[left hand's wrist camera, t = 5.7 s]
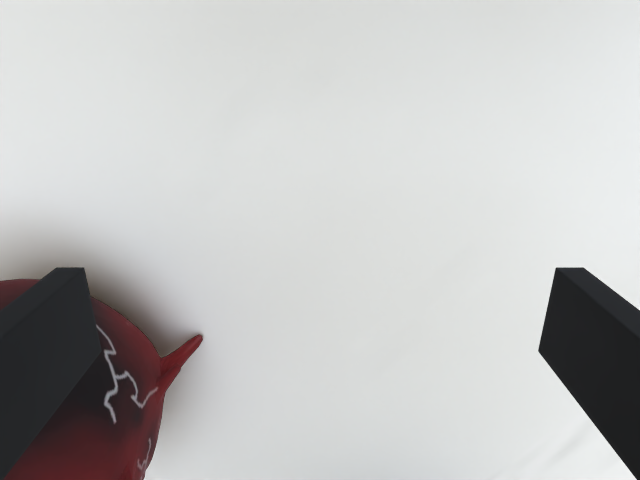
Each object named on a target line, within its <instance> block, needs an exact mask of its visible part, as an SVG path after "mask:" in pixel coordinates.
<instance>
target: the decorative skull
mask: <svg viewBox="0 0 640 480" xmlns="http://www.w3.org/2000/svg"><path fill="white" fill-rule="evenodd" d="M38 281H40V280H35V279H16V280H6V281H0V310H2V309H3V308H4V307H6V306H7V305H8V304H10V303H11V302H12V301H14V300H15V299H16V298H17V297H19V296H20V295H21V294H23V293H24V292H25V291H27V290H28V289H29V288H31V287H32V286H33V285H34V284H36V283H37V282H38ZM90 298H91V303H92V307H93V312H94V317H95V321H96V326H97V331H98V336H99V340H100V345H101V350H102V351H101V353H100V354H99V355H98V357H97V358H96V359H95V360H94V362H93V363H92V364H91V366H90V367H89V368H88V370H87V371H86V372H85V374H84V375H83V376H82V377H81V379H80V380H79V381H78V383H77V384H76V385H75V387H74V388H73V389H72V390H71V392H70V393H69V394H68V396H67V397H66V398H65V400H64V401H63V402H62V403H61V405H60V406H59V407H58V409H57V410H56V411H55V413H54V414H53V415H52V417H51V418H50V419H49V420H48V422H47V423H46V424H45V426H44V427H43V428H42V430H41V431H40V432H39V433H38V435H37V436H36V437H35V439H34V440H33V441H32V443H31V444H30V445H29V446H28V448H27V449H26V450H25V452H24V453H23V454H22V456H21V457H20V458H19V460H18V461H17V462H16V463H15V465H14V466H13V467H12V469H11V470H10V471H9V473H8V474H7V475H6V476H5V478H4V479H3V480H143V479H144V477H145V471H146V469H147V467H148V466H149V464H150V462H151V460H152V457H153V454H154V450H155V447H156V443H157V439H158V433H159V428H160V423H161V418H162V410H163V402H164V396H165V392H166V390H167V389H168V387H169V386H170V384H171V383H172V382H173V380H174V379H175V377H176V376H177V374H178V373H179V372H180V369H181V367H182V365H183V364H184V363H185V362H186V360H187V359H188V358H189V357H190V356H191V354H192V353H193V352H194V351H195V350H196V349H197V348H198V347H199V345H200V344H201V342H202V340H203V338H202V336H201V335H197V336H195V337H194V338H192V339H190V340H189V341H187V342H186V343H185V344H183V345H182V346H181V347H180V348H178V349H177V350H176V351H174V352H172V353H171V354H169V355H167V356H166V357H163V358H161V357H160V356H159V355H158V353H157V351H156V349H155V348H154V346H153V345H152V343H151V342H150V341H149V339H148V338H147V337H146V335H145V334H144V333H142V332H141V331H140V330H139V329H138V328H137V327H136V326H135V325H133V324H132V323H131V322H130V321H129V320H127V319H126V318H125V317H124V316H122V315H121V314H120V313H118V312H117V311H115V310H114V309H112V308H111V307H109V306H107V305H106V304H104V303H102V302H100V301H98V300H97V299H95V298H93V297H91V296H90Z"/></svg>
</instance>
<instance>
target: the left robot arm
mask: <svg viewBox="0 0 640 480" xmlns="http://www.w3.org/2000/svg"><path fill="white" fill-rule="evenodd" d="M101 351H102V350H101V345H100V340H99V336H98V331H97V326H96V321H95V317H94V312H93V307H92V303H91V298H90V293H89V288H88V284H87V279H86V274H85V270H84V268H55V269H54V270H53V271H52V272H50V273H49V274H48V275H46V276H45V277H44V278H42V279H41V280H40V281H38V282H37V283H36V284H34V285H33V286H32V287H31V288H29V289H28V290H27V291H25V292H24V293H23V294H21V295H20V296H19V297H17V298H16V299H15V300H14V301H12V302H11V303H10V304H8V305H7V306H6V307H4V308H3V309H2V310H0V480H3V479H4V478H5V476H6V475H7V474H8V473H9V471H10V470H11V469H12V467H13V466H14V465H15V463H16V462H17V461H18V460H19V458H20V457H21V456H22V454H23V453H24V452H25V450H26V449H27V448H28V446H29V445H30V444H31V443H32V441H33V440H34V439H35V437H36V436H37V435H38V433H39V432H40V431H41V430H42V428H43V427H44V426H45V424H46V423H47V422H48V420H49V419H50V418H51V417H52V415H53V414H54V413H55V411H56V410H57V409H58V407H59V406H60V405H61V403H62V402H63V401H64V400H65V398H66V397H67V396H68V394H69V393H70V392H71V390H72V389H73V388H74V387H75V385H76V384H77V383H78V381H79V380H80V379H81V377H82V376H83V375H84V374H85V372H86V371H87V370H88V368H89V367H90V366H91V364H92V363H93V362H94V360H95V359H96V358H97V357H98V355H99V354H100V353H101ZM538 351H539V353H540V354H541V355H542V357H543V358H544V359H545V360H546V362H547V363H548V364H549V366H550V367H551V368H552V370H553V371H554V372H555V374H556V375H557V376H558V377H559V379H560V380H561V381H562V383H563V384H564V385H565V387H566V388H567V389H568V390H569V392H570V393H571V394H572V396H573V397H574V398H575V400H576V401H577V402H578V403H579V405H580V406H581V407H582V409H583V410H584V411H585V413H586V414H587V415H588V417H589V418H590V419H591V420H592V422H593V423H594V424H595V426H596V427H597V428H598V430H599V431H600V432H601V433H602V435H603V436H604V437H605V439H606V440H607V441H608V443H609V444H610V445H611V446H612V448H613V449H614V450H615V452H616V453H617V454H618V456H619V457H620V458H621V460H622V461H623V462H624V463H625V465H626V466H627V467H628V469H629V470H630V471H631V473H632V474H633V475H634V476H635V478H636V479H637V480H640V310H638V309H637V308H636V307H634V306H633V305H632V304H630V303H629V302H628V301H626V300H625V299H624V298H623V297H621V296H620V295H619V294H617V293H616V292H615V291H613V290H612V289H611V288H609V287H608V286H607V285H606V284H604V283H603V282H602V281H600V280H599V279H598V278H596V277H595V276H594V275H592V274H591V273H590V272H588V271H587V270H586V269H585V268H556V270H555V274H554V279H553V284H552V288H551V293H550V298H549V303H548V307H547V312H546V317H545V321H544V326H543V331H542V336H541V340H540V345H539V350H538Z"/></svg>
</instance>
